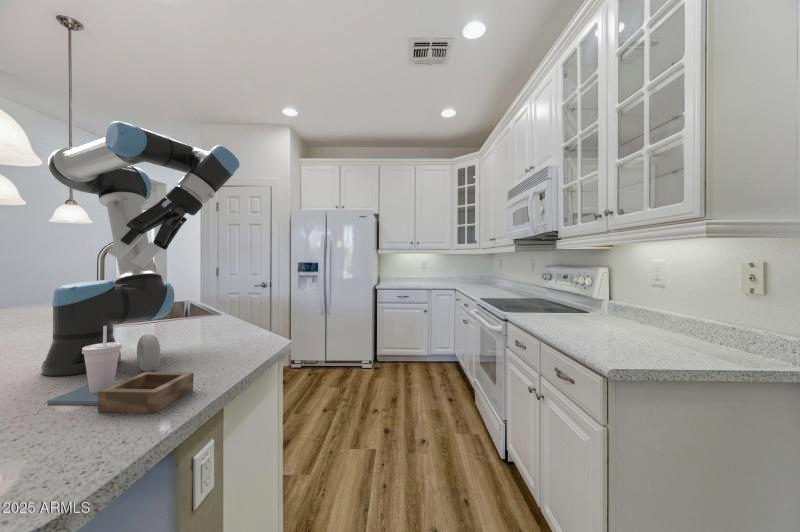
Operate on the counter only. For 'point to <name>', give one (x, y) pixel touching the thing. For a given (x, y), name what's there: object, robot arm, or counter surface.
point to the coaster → (77, 397)
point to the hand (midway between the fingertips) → (126, 261)
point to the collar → (145, 392)
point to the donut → (148, 352)
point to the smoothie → (101, 363)
